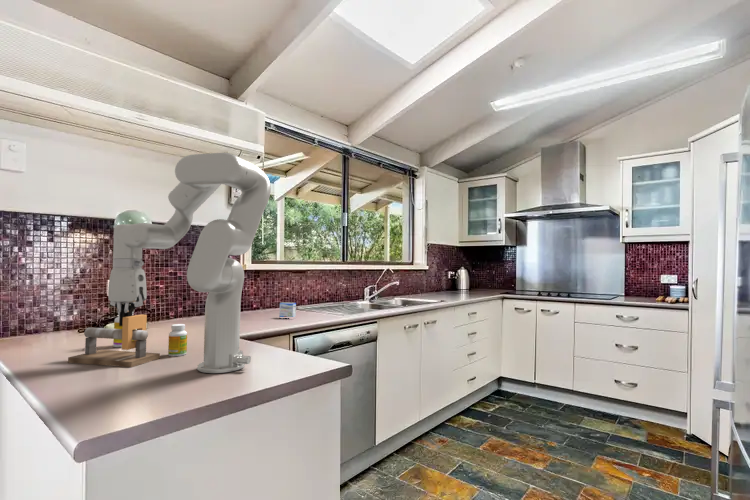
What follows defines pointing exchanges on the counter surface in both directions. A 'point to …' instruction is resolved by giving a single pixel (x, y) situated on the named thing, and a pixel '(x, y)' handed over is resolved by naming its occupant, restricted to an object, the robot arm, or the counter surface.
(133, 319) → the rubber collar
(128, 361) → the pipe stand
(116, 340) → the supplement bottle
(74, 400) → the counter surface
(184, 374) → the counter surface
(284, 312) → the medicine box
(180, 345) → the supplement bottle
